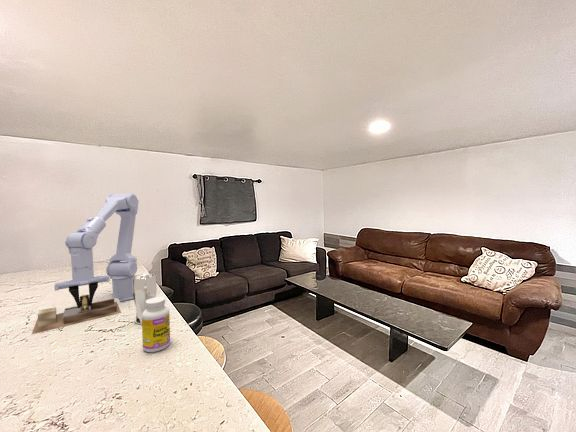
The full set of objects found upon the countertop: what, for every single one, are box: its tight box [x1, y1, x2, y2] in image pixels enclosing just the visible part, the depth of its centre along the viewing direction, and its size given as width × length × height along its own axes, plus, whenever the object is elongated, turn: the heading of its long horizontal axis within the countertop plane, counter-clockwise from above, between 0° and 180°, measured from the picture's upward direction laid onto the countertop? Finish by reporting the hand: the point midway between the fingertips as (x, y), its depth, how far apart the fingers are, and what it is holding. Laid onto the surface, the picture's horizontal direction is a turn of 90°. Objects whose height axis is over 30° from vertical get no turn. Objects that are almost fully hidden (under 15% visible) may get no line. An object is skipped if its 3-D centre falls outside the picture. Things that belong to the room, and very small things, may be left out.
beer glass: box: [133, 273, 158, 326], centre depth 84 cm, size 7×7×15 cm
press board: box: [31, 298, 122, 335], centre depth 86 cm, size 22×14×4 cm, turn 130°
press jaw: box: [63, 294, 91, 322], centre depth 85 cm, size 7×7×6 cm
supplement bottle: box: [141, 296, 171, 353], centre depth 68 cm, size 7×7×13 cm
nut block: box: [37, 306, 58, 327], centre depth 80 cm, size 4×4×4 cm
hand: (84, 306), depth 86 cm, fingers closed on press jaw, 2 cm apart
